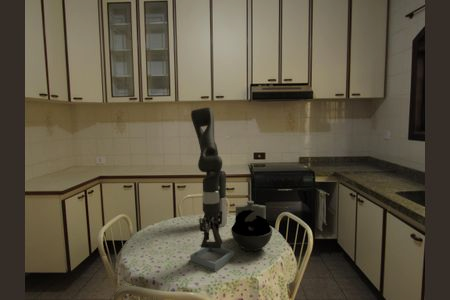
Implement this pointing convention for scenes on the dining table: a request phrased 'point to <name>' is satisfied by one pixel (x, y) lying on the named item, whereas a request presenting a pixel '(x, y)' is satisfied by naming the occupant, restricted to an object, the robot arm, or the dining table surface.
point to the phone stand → (216, 236)
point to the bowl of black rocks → (251, 231)
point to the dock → (212, 258)
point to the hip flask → (258, 210)
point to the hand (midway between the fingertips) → (211, 237)
